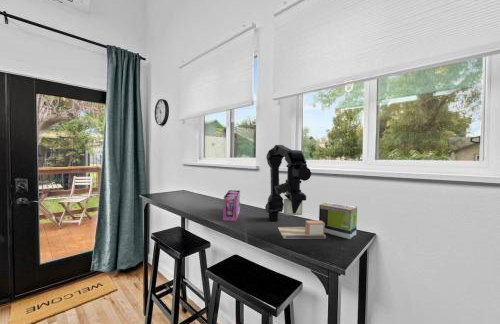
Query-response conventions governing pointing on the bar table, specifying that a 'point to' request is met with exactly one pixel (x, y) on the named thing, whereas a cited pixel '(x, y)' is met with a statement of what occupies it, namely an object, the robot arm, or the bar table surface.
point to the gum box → (231, 205)
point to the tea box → (339, 219)
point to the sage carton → (289, 208)
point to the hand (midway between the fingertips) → (292, 211)
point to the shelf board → (297, 233)
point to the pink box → (314, 228)
